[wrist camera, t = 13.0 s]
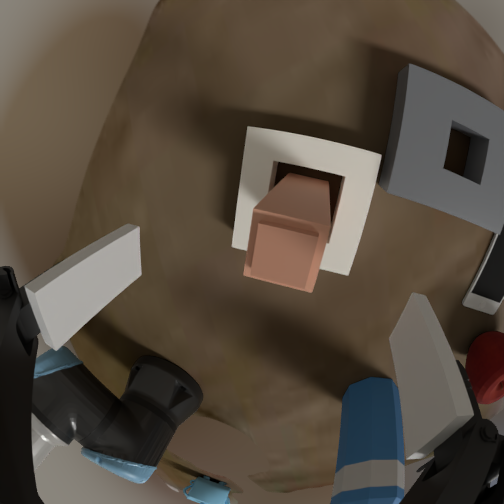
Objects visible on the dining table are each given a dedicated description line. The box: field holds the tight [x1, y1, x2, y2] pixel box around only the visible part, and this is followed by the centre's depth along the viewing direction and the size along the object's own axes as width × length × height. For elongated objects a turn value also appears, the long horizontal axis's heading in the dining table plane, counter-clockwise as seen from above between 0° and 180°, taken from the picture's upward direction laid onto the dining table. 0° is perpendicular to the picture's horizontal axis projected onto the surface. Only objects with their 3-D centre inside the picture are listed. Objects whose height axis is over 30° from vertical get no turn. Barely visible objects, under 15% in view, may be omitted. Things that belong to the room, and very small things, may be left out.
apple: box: [465, 331, 504, 404], centre depth 22 cm, size 10×10×10 cm
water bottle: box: [330, 377, 404, 504], centre depth 25 cm, size 9×9×25 cm
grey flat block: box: [379, 63, 504, 235], centre depth 18 cm, size 14×12×4 cm
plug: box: [244, 173, 331, 293], centre depth 20 cm, size 4×4×15 cm
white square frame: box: [232, 126, 382, 276], centre depth 25 cm, size 12×12×3 cm
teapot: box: [183, 476, 230, 504], centre depth 71 cm, size 22×11×14 cm, turn 72°
